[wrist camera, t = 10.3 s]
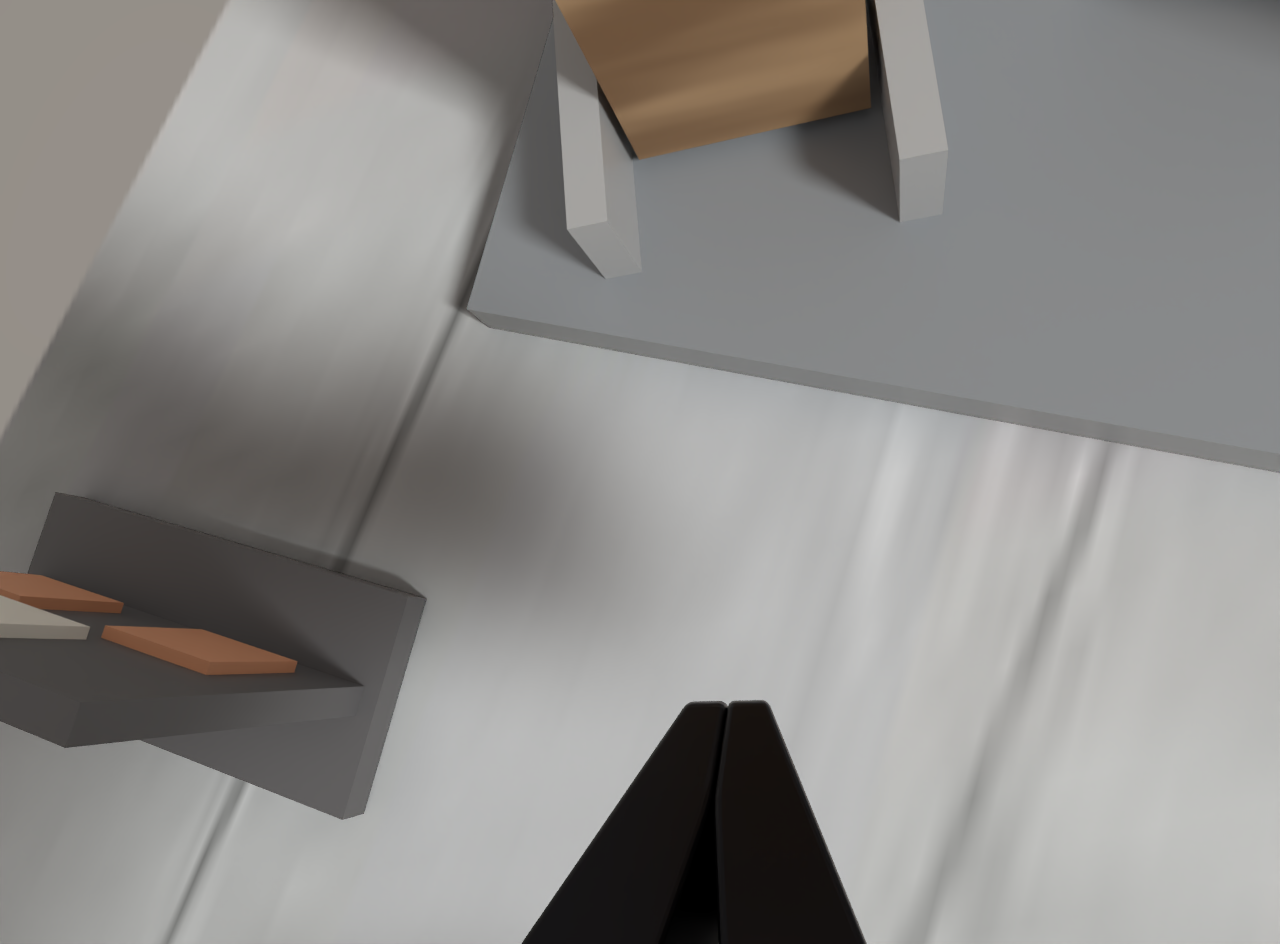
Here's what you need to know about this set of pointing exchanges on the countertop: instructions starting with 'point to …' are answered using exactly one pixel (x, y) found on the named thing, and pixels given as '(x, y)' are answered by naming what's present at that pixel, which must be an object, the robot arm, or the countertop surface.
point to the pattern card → (204, 653)
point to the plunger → (722, 65)
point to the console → (944, 225)
